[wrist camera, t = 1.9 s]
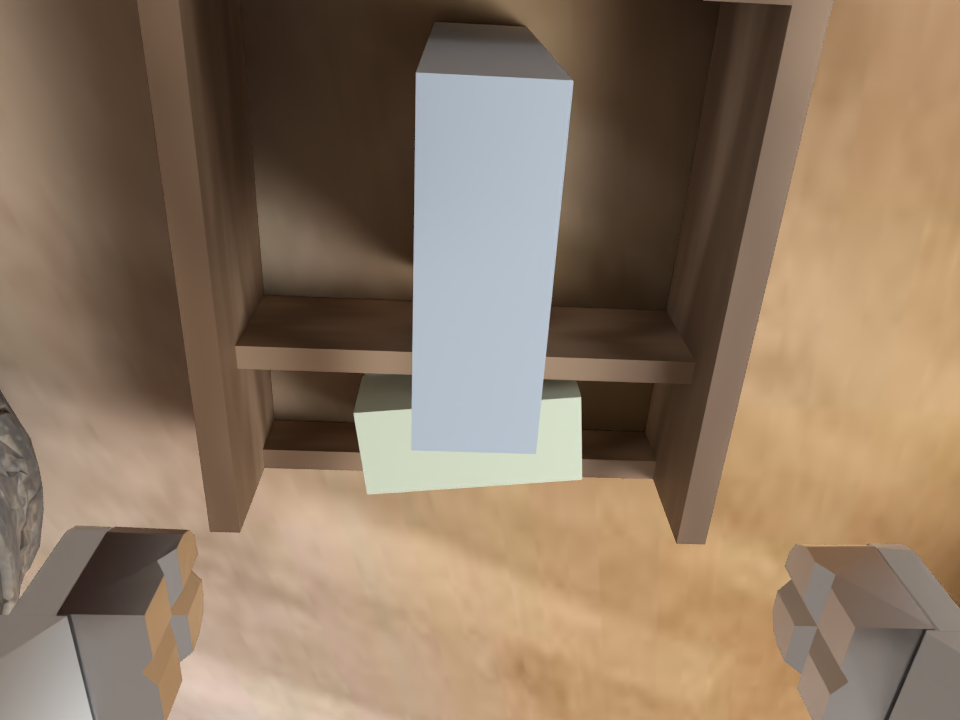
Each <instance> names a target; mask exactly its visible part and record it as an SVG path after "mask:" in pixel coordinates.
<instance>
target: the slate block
mask: <svg viewBox="0 0 960 720" xmlns="http://www.w3.org/2000/svg"><path fill="white" fill-rule="evenodd" d="M573 83H574V80H573V79H572V78H571V77H570V76H569V75H568V73H567V72H566V71H565V70H564V69H563V68H562V67H561V65H560V64H559V63H558V62H557V61H556V60H555V59H554V57H553V56H552V55H551V54H550V53H549V52H548V51H547V49H546V48H545V47H544V46H543V45H542V44H541V43H540V41H539V40H538V39H537V38H536V37H535V36H534V35H533V33H532V32H531V31H530V30H529V29H528V28H527V27H523V26H504V25H485V24H467V23H448V22H434V25H433V27H432V30H431V33H430V36H429V38H428V41H427V44H426V46H425V49H424V52H423V55H422V57H421V60H420V63H419V65H418V68H417V71H416V104H415V184H414V264H413V344H412V424H411V450H413V451H447V452H480V453H514V454H536V449H537V439H538V429H539V419H540V409H541V399H542V389H543V379H544V370H545V360H546V350H547V340H548V330H549V320H550V310H551V300H552V291H553V281H554V271H555V261H556V251H557V241H558V231H559V221H560V211H561V202H562V192H563V182H564V172H565V162H566V152H567V142H568V132H569V122H570V113H571V103H572V93H573Z"/></svg>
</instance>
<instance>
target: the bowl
mask: <svg viewBox="0 0 960 720" xmlns="http://www.w3.org/2000/svg"><path fill="white" fill-rule="evenodd" d="M43 511H44V507H43V487H42V482H41V476H40V471H39V466H38V462H37V459H36V456H35V453H34V449H33V446H32V442H31V439H30V437H29V435H28V434H27V432H26V431H25V429H24V427H23V426H22V424H21V423H20V421H19V420H18V418H17V417H16V415H15V413H14V412H13V410H12V409H11V407H10V405H9V404H8V402H7V401H6V399H5V397H4V396H3V394H2V392H1V391H0V615H9V614H10V612H11V611H12V609H13V608H14V606H15V605H16V603H17V602H18V601H19V594H20V586H21V584H22V581H23V577H24V574H25V573H26V572H27V570H28V569H29V568H30V566H31V564H32V562H33V560H34V558H35V556H36V553H37V551H38V549H39V547H40V538H41V529H42V520H43Z"/></svg>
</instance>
